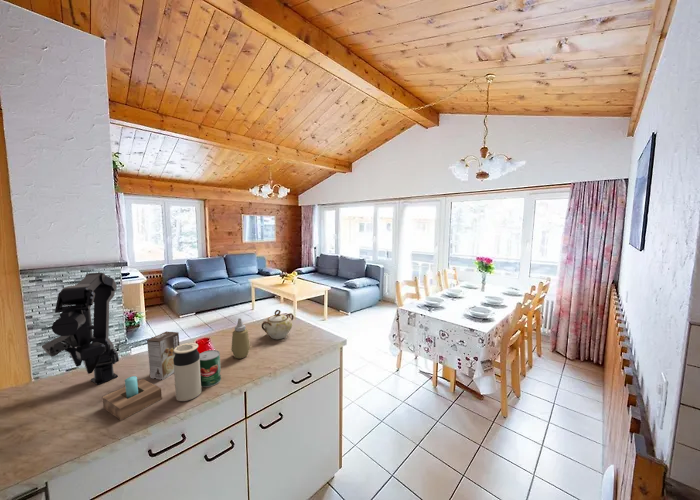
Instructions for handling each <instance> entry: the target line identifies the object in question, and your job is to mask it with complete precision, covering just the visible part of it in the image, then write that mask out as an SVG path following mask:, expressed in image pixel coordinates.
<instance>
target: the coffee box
mask: <svg viewBox="0 0 700 500" xmlns="http://www.w3.org/2000/svg"><path fill="white" fill-rule="evenodd" d="M146 342H147V344H146V345H147V352H148V354H147V355H148V364H149V366H148V367H149V376H150V379H154V378H156V379H155V380H161V379H162V381H163V380H165V379H166V378H168V377H170V376H171V375H172V374H173V375H174V361H173V358H174V356H175V352H174V349H175V348H176V347H177V346H179V345H180V336H179V332H177V331H164V332H161V333H160V334H158V335H156V336H153V337H151V338H149V339H147V340H146Z"/></svg>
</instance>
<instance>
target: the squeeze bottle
mask: <svg viewBox="0 0 700 500" xmlns="http://www.w3.org/2000/svg"><path fill="white" fill-rule="evenodd" d="M231 338H232V339H231V347H230V348H231V349H230V350H231V352H232V355H233V356H234V358H235V359H244V358H246V357H248V355H249V352H250V350H251V349H250V348H251V344H250V338H249V330H248V329H247V328H246V325H245V324H243V320H242V318H241V317H238V319H237V324H236V325H234V330H233V331H232V337H231Z"/></svg>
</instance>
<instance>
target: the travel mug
mask: <svg viewBox="0 0 700 500" xmlns="http://www.w3.org/2000/svg"><path fill="white" fill-rule="evenodd" d="M198 348H199V344H198V343H195V342H186V343H183V344H182V343H181V344H179V346H177V347H176V348H175V349H174V352H175V356H174V358H173V361H174V373H173V375H174V387H175V388H174V389H175V399H176V400H177V401H179V402H186V401H191V400H193V399H195V398H196V397H198V396H199V395H200V394H201V393H202V387H201V375H200V356H199V354H200V352H199V350H198Z"/></svg>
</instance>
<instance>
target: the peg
mask: <svg viewBox="0 0 700 500" xmlns="http://www.w3.org/2000/svg"><path fill="white" fill-rule="evenodd" d="M137 381H138V377H137V376H136V375H134V376H133V375H132V376H129V377H127V378H126V379H124V385H125V386H124V387H126V398H127V399H128V398H131V397H133V396H135V395H137V394H138V384H137Z"/></svg>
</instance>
